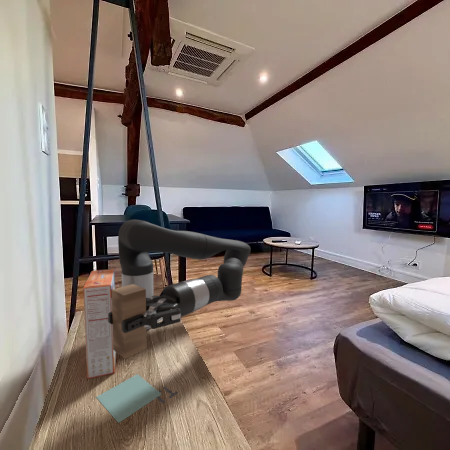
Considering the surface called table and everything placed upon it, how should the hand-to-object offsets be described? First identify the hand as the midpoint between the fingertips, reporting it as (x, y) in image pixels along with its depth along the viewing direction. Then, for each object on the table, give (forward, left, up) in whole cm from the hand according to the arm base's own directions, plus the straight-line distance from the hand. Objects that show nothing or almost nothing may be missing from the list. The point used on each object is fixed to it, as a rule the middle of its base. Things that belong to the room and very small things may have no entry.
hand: (115, 322), depth 47 cm
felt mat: (0, +3, -16) cm, 16 cm away
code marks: (+5, +8, -16) cm, 19 cm away
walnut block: (0, +3, -6) cm, 7 cm away
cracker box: (-16, +5, -17) cm, 24 cm away
